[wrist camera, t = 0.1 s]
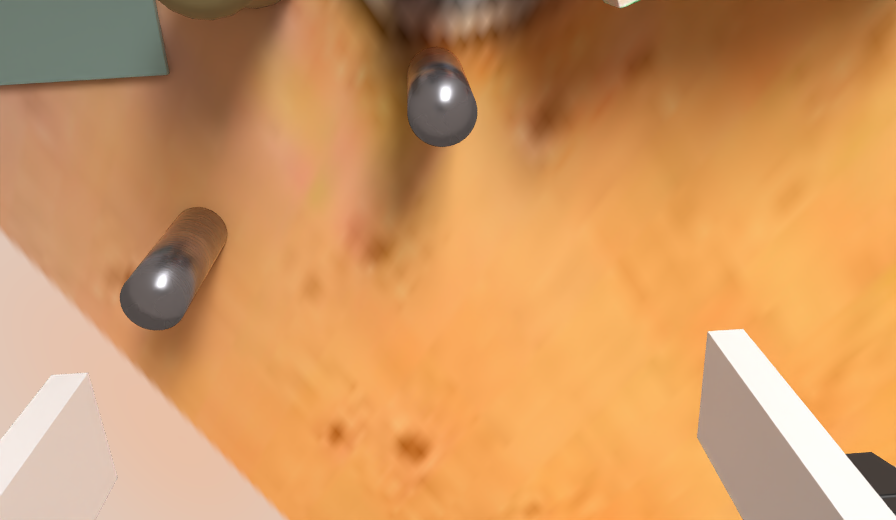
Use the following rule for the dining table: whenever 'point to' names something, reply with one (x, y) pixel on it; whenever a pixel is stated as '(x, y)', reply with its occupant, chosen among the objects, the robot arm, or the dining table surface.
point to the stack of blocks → (620, 2)
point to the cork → (213, 7)
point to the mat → (79, 40)
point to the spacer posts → (204, 233)
